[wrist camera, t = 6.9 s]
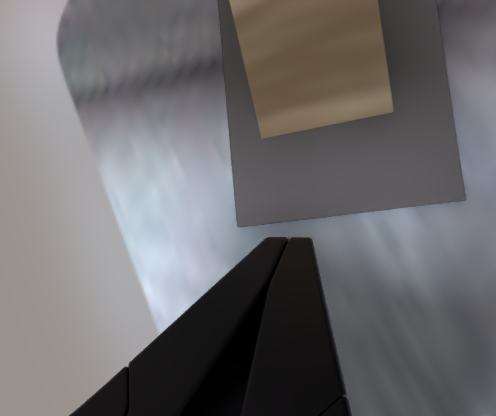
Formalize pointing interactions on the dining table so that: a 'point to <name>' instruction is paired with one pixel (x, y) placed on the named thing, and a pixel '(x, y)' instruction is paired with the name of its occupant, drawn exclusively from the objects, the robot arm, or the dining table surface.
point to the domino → (312, 62)
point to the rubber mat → (351, 135)
